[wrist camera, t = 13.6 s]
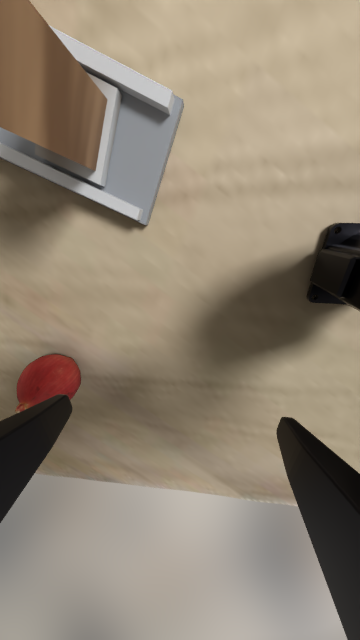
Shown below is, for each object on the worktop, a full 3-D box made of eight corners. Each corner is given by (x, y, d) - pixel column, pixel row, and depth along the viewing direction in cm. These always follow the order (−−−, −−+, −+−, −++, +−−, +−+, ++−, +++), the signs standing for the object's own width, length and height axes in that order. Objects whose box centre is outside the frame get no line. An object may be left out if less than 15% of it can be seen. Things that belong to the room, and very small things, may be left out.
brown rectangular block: (122, 95, 13) (-230, -442, 2) (105, 186, 15) (-109, 111, 5) (48, 57, 13) (-745, -777, 2) (43, 157, 15) (-335, 7, 4)
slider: (184, 105, 13) (181, 90, 12) (147, 225, 17) (142, 225, 16) (-36, -10, 12) (-71, -44, 11) (-25, 145, 16) (-50, 136, 14)
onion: (102, 368, 25) (62, 426, 18) (71, 383, 27) (24, 440, 20) (70, 334, 23) (12, 383, 16) (40, 351, 25) (-24, 403, 18)
